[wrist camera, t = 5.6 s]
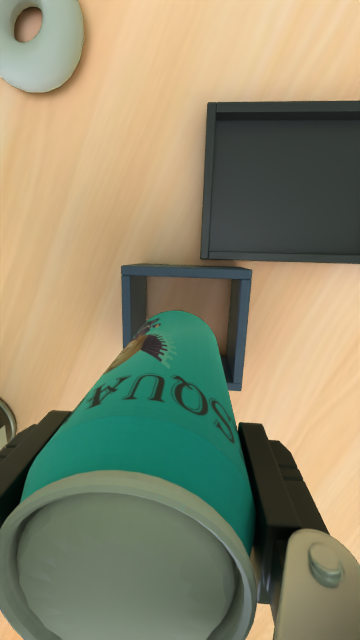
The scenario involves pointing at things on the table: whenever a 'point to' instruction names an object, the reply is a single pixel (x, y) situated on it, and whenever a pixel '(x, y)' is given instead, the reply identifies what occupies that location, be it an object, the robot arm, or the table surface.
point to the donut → (41, 45)
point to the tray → (282, 182)
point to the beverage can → (138, 505)
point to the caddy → (240, 285)
